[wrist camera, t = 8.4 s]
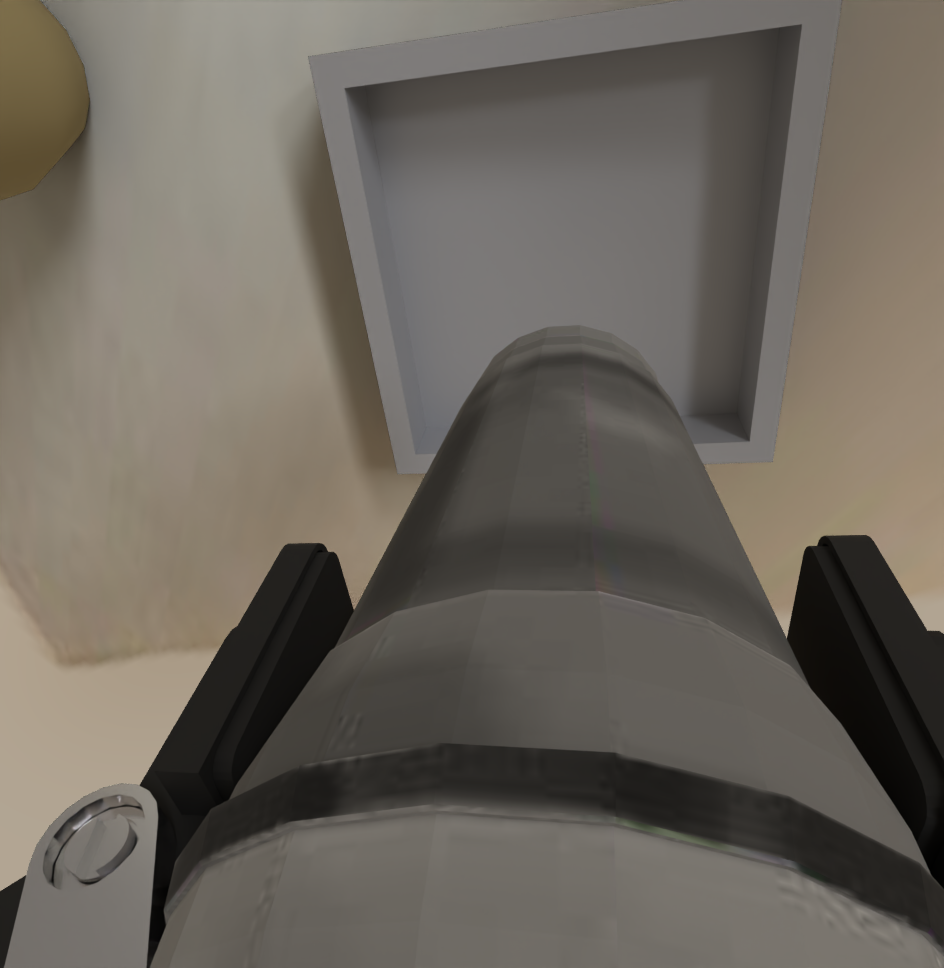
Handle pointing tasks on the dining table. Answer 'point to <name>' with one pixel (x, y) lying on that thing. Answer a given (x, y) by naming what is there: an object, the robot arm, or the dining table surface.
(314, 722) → the beverage cup
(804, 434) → the dining table surface
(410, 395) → the tray
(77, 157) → the dining table surface
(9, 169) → the squeeze bottle
